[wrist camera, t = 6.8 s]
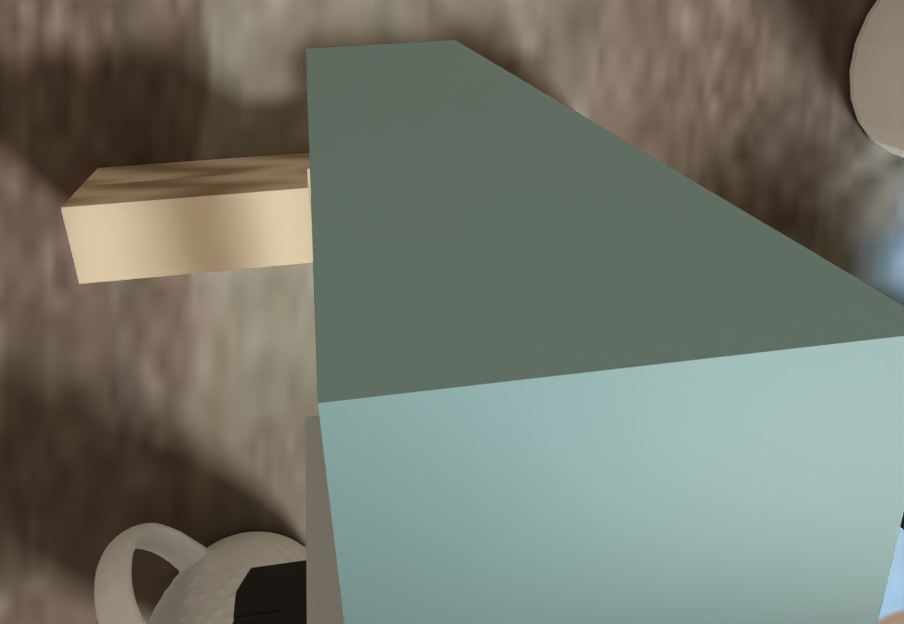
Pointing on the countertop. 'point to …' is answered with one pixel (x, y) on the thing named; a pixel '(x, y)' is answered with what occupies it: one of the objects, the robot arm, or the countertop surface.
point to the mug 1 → (185, 574)
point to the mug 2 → (880, 75)
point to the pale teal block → (579, 371)
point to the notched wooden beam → (191, 217)
